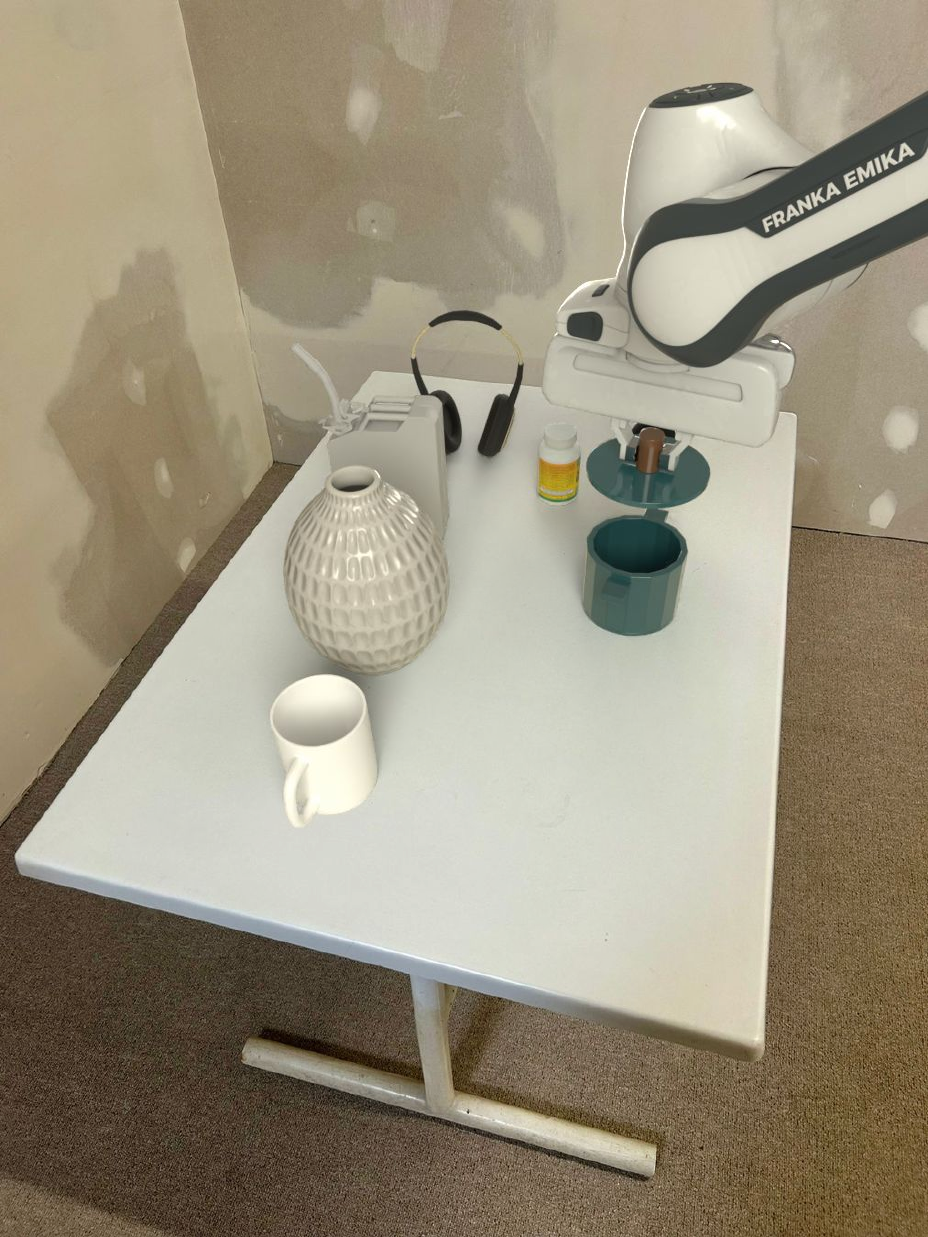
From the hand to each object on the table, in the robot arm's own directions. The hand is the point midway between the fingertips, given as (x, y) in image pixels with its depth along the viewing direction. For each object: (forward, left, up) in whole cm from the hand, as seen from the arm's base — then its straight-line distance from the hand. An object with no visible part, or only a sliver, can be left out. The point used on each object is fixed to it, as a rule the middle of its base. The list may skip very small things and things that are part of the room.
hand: (648, 461), depth 79 cm
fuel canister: (+33, -5, -22) cm, 40 cm away
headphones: (+31, -25, -22) cm, 45 cm away
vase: (+23, +14, -22) cm, 35 cm away
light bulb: (+6, -26, -22) cm, 34 cm away
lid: (0, 0, -1) cm, 1 cm away
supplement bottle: (+16, -20, -22) cm, 34 cm away
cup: (+18, +32, -22) cm, 43 cm away
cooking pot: (+1, -4, -22) cm, 22 cm away
